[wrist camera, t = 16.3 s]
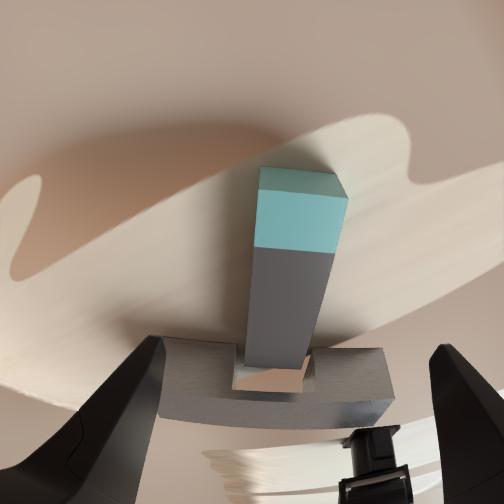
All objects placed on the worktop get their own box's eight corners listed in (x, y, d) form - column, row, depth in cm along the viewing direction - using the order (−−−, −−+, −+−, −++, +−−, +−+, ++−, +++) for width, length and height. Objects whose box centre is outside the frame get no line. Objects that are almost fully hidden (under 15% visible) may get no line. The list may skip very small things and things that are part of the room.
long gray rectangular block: (364, 379, 27) (372, 426, 23) (171, 370, 27) (159, 417, 23) (382, 347, 24) (395, 398, 20) (162, 336, 24) (146, 388, 20)
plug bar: (299, 337, 24) (301, 369, 21) (246, 333, 24) (243, 366, 21) (336, 173, 16) (348, 198, 14) (260, 165, 16) (258, 189, 14)
